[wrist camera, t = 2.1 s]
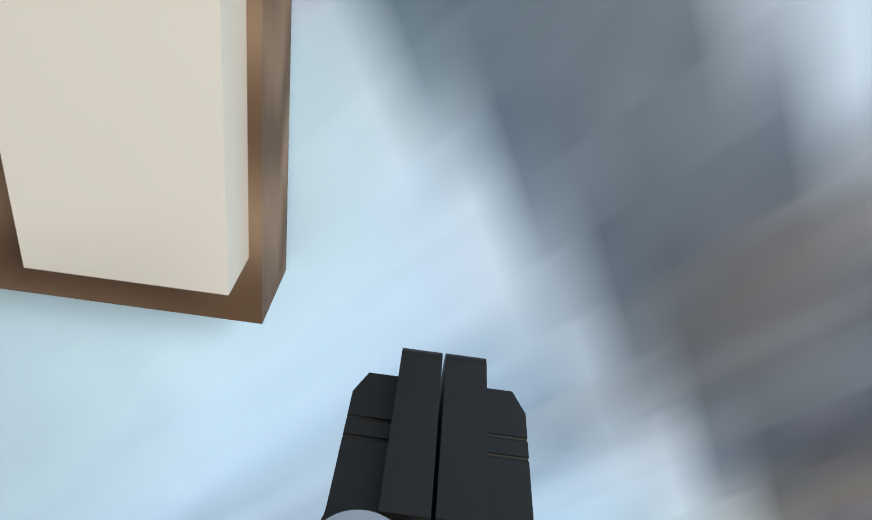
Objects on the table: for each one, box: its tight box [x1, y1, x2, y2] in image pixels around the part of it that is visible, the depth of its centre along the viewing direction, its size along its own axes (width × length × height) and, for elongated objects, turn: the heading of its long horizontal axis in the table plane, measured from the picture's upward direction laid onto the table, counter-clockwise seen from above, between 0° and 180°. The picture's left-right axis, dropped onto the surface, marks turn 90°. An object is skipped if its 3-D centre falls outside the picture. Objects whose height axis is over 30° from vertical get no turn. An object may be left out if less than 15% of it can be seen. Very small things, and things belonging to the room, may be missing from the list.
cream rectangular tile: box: [0, 0, 249, 295], centre depth 23 cm, size 10×7×2 cm
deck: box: [0, 0, 292, 324], centre depth 26 cm, size 16×12×4 cm
